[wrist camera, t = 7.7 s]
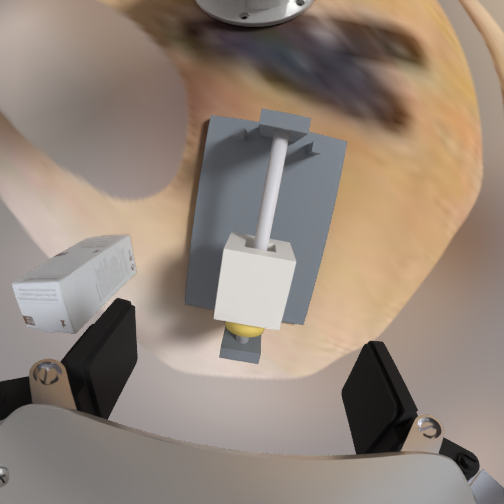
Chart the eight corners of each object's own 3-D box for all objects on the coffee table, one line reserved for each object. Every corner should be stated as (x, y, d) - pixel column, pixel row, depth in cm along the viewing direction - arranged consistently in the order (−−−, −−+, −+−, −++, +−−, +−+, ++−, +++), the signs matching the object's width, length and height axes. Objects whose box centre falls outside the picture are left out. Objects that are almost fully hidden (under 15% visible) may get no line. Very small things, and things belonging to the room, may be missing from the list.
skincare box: (130, 232, 27) (58, 276, 16) (138, 274, 29) (78, 336, 17) (83, 238, 28) (8, 279, 16) (92, 277, 29) (26, 330, 17)
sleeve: (231, 231, 22) (223, 248, 18) (289, 242, 22) (296, 261, 18) (222, 291, 24) (213, 318, 19) (276, 300, 24) (279, 330, 19)
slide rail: (212, 117, 24) (190, 96, 16) (344, 142, 24) (379, 134, 16) (187, 299, 29) (162, 347, 21) (302, 320, 29) (313, 372, 21)
